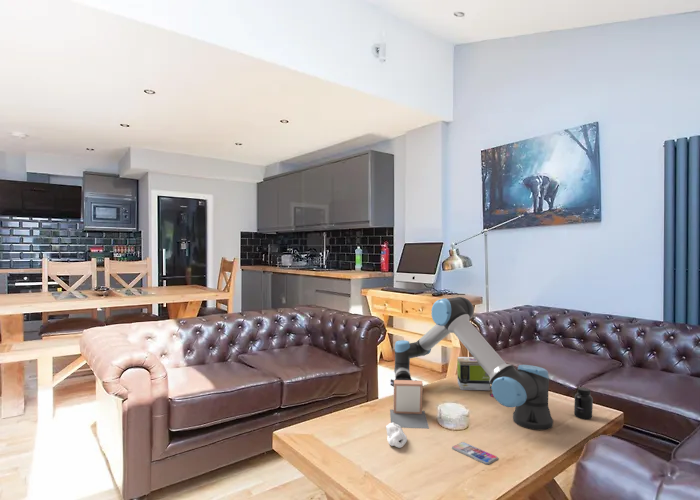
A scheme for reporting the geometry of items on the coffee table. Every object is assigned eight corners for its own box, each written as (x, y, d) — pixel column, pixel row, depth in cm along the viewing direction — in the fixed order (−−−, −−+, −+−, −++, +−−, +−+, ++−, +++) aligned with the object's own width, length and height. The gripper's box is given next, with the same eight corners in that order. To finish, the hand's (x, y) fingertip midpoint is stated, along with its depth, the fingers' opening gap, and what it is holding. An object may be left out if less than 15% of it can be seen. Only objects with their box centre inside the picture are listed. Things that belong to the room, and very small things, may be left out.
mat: (389, 410, 186) (389, 409, 186) (424, 411, 185) (424, 410, 185) (391, 428, 168) (391, 427, 168) (429, 430, 167) (429, 428, 167)
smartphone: (462, 441, 157) (499, 457, 145) (462, 443, 157) (499, 459, 145) (450, 446, 152) (487, 463, 140) (450, 449, 152) (487, 466, 140)
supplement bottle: (575, 418, 179) (575, 390, 179) (573, 412, 185) (573, 385, 185) (593, 421, 176) (594, 392, 176) (591, 414, 183) (591, 387, 183)
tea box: (486, 384, 222) (486, 356, 221) (490, 391, 212) (490, 362, 211) (456, 383, 223) (457, 355, 223) (460, 390, 213) (460, 361, 213)
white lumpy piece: (399, 453, 149) (385, 432, 150) (386, 451, 160) (373, 432, 161) (416, 437, 153) (403, 416, 154) (402, 436, 164) (389, 417, 165)
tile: (393, 409, 185) (393, 379, 182) (421, 409, 184) (422, 380, 181) (393, 413, 182) (394, 383, 179) (421, 414, 181) (422, 384, 178)
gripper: (416, 385, 207) (420, 404, 183) (389, 385, 208) (390, 403, 184) (416, 370, 207) (421, 386, 183) (389, 369, 208) (390, 385, 184)
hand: (405, 394), depth 184 cm, fingers closed
